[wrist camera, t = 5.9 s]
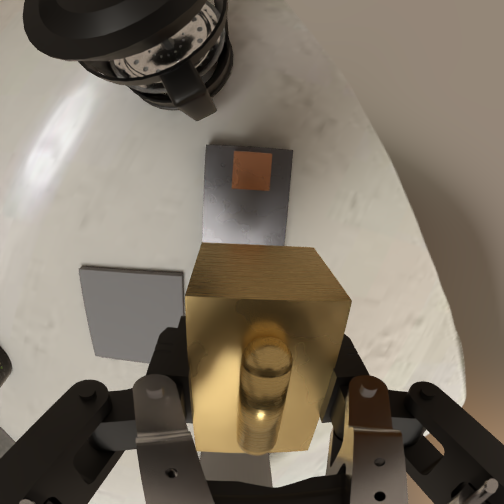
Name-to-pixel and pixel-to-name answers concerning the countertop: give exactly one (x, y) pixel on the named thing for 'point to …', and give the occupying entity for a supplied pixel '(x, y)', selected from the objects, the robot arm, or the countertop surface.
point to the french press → (140, 45)
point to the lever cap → (261, 345)
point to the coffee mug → (237, 467)
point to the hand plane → (246, 195)
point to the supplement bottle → (4, 367)
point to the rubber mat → (130, 310)
